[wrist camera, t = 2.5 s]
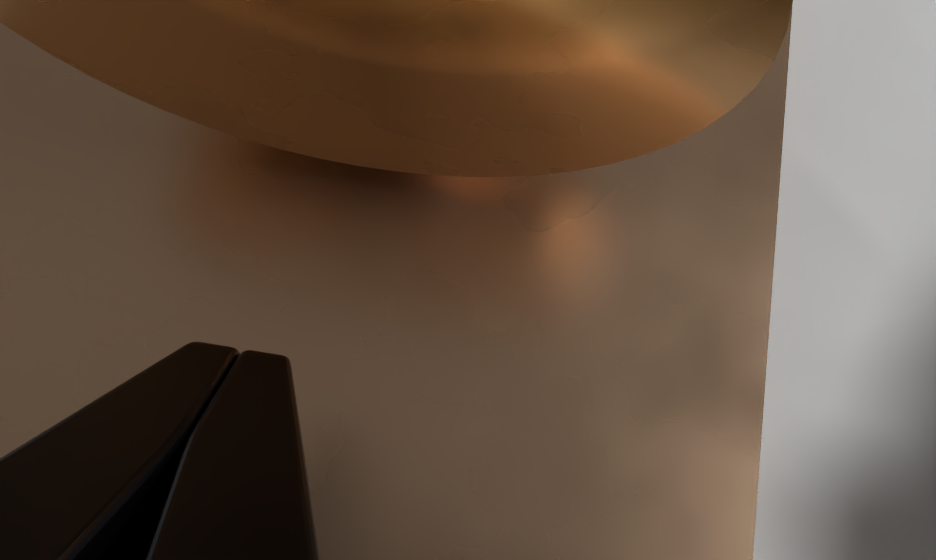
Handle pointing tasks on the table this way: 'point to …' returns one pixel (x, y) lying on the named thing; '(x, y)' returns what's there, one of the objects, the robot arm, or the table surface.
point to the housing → (414, 317)
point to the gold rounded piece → (426, 73)
